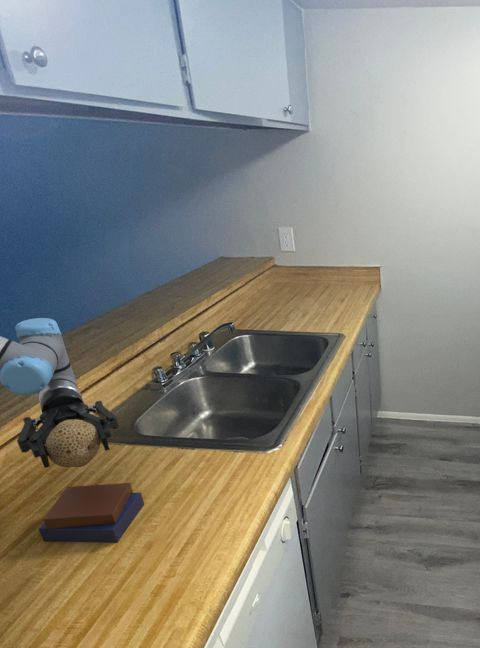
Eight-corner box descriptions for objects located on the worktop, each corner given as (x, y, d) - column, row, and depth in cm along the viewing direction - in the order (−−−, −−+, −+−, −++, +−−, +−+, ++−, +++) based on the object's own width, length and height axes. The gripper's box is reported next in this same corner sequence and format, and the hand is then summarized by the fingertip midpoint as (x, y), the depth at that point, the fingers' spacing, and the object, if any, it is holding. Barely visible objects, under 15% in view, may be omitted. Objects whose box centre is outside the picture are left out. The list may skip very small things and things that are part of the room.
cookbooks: (43, 541, 90) (33, 519, 88) (78, 502, 100) (70, 481, 98) (117, 542, 91) (109, 520, 88) (144, 504, 101) (138, 482, 98)
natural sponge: (108, 472, 91) (94, 429, 86) (52, 486, 87) (34, 441, 82) (106, 448, 98) (93, 407, 93) (55, 460, 94) (38, 417, 89)
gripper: (122, 404, 110) (144, 450, 94) (5, 432, 98) (9, 490, 82) (114, 375, 106) (136, 418, 91) (-8, 401, 94) (-7, 454, 79)
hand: (76, 452), depth 86 cm, fingers closed on natural sponge, 9 cm apart
